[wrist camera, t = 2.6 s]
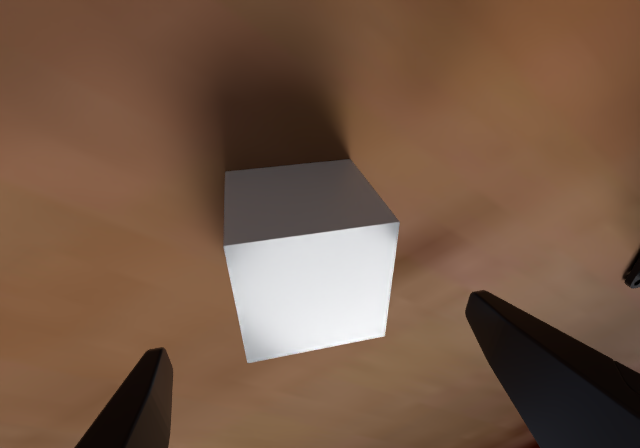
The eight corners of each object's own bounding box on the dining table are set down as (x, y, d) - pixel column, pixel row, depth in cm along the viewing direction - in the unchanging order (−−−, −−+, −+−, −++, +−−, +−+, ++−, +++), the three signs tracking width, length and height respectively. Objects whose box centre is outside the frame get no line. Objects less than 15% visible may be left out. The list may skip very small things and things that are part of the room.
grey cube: (346, 254, 17) (384, 336, 13) (242, 270, 16) (247, 363, 12) (349, 158, 14) (399, 221, 10) (224, 170, 13) (223, 246, 9)
